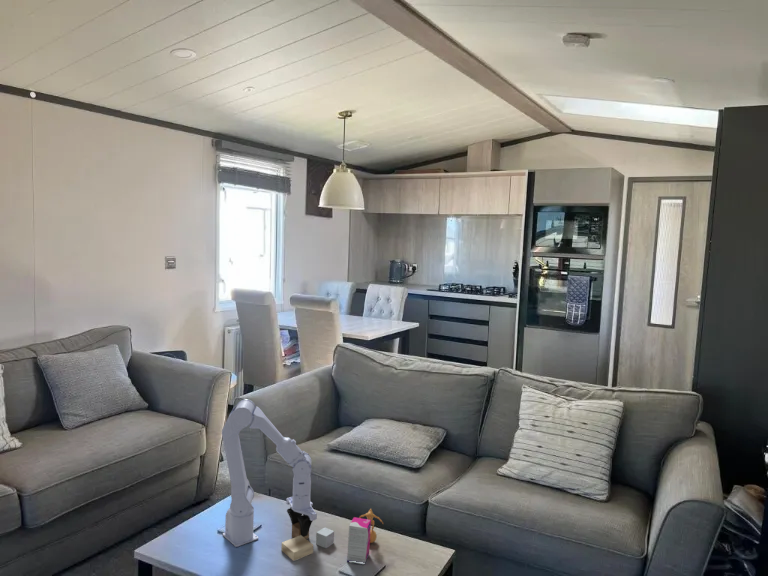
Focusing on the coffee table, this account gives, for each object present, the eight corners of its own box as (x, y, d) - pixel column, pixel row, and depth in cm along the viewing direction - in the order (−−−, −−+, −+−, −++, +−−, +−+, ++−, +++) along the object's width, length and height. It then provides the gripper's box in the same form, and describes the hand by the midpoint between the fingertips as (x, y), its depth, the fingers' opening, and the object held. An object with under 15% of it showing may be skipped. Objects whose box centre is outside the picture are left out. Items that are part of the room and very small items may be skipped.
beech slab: (281, 551, 170) (281, 542, 170) (300, 544, 175) (300, 535, 175) (293, 562, 165) (293, 552, 165) (313, 554, 170) (313, 544, 170)
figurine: (383, 540, 179) (385, 504, 178) (381, 550, 173) (382, 513, 172) (358, 537, 180) (360, 502, 179) (355, 547, 174) (356, 510, 173)
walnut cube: (291, 536, 179) (291, 524, 178) (302, 532, 181) (302, 520, 181) (298, 541, 176) (298, 529, 175) (309, 537, 178) (309, 525, 178)
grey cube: (316, 544, 175) (316, 532, 174) (324, 539, 178) (324, 527, 178) (326, 548, 173) (326, 536, 172) (333, 543, 176) (334, 531, 176)
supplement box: (365, 565, 164) (367, 528, 164) (346, 562, 166) (347, 525, 165) (370, 554, 170) (371, 519, 169) (351, 551, 171) (352, 516, 170)
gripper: (325, 497, 175) (323, 538, 176) (299, 481, 185) (298, 520, 186) (306, 503, 170) (305, 545, 171) (281, 486, 181) (280, 526, 182)
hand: (300, 532), depth 178 cm, fingers closed on walnut cube, 4 cm apart
